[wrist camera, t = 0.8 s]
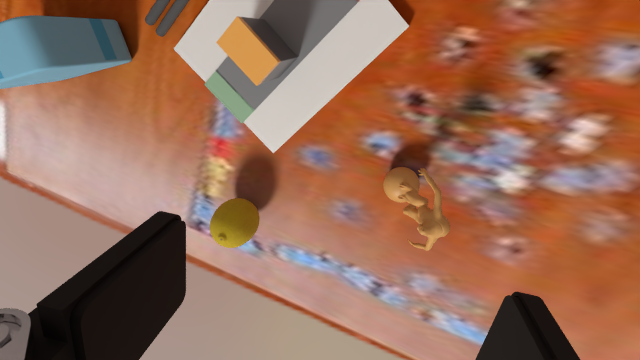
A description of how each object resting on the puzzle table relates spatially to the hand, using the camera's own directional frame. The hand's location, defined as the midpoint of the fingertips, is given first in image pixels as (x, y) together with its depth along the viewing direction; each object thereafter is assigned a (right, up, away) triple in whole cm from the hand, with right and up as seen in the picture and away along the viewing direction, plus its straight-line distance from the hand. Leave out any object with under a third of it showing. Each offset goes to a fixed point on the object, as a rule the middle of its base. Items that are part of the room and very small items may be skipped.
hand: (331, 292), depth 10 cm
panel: (-4, +18, +27) cm, 33 cm away
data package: (-28, +19, +32) cm, 47 cm away
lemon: (-10, 0, +36) cm, 38 cm away
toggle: (-5, +17, +26) cm, 32 cm away
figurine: (+10, +3, +30) cm, 32 cm away
